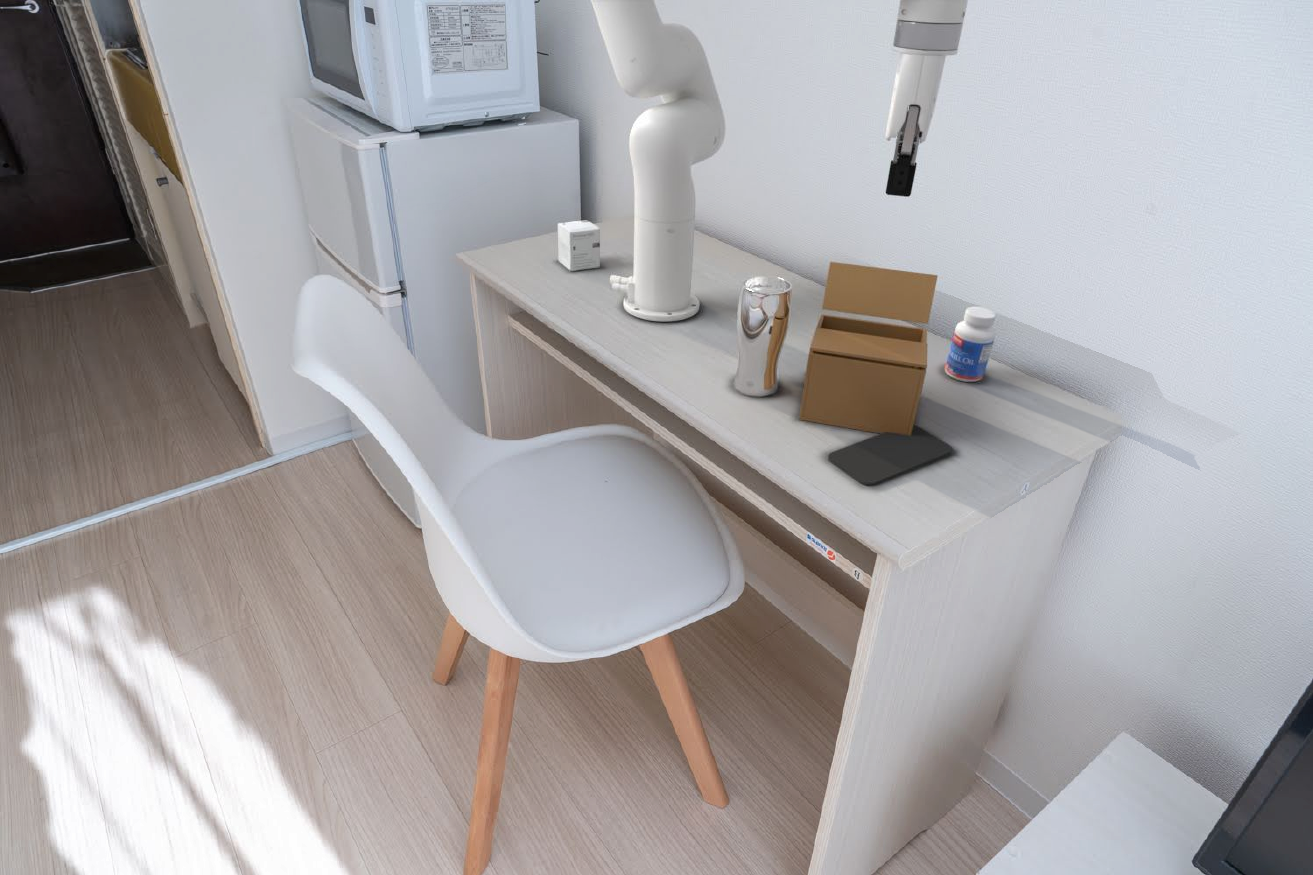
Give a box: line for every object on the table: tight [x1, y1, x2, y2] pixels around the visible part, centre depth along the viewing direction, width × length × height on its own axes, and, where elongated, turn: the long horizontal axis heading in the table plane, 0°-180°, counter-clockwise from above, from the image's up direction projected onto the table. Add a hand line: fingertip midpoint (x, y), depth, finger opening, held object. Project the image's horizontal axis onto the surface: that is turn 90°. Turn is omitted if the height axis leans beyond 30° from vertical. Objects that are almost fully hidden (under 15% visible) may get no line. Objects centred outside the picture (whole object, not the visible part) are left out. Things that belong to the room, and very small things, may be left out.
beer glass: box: [733, 274, 793, 398], centre depth 107 cm, size 7×7×15 cm
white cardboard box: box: [557, 219, 601, 272], centre depth 147 cm, size 6×6×7 cm
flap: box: [821, 261, 938, 325], centre depth 107 cm, size 6×14×1 cm
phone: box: [827, 424, 954, 487], centre depth 97 cm, size 7×1×15 cm
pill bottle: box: [944, 306, 997, 383], centre depth 113 cm, size 6×5×10 cm
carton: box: [798, 313, 928, 436], centre depth 105 cm, size 13×14×10 cm
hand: (897, 193), depth 105 cm, fingers closed
